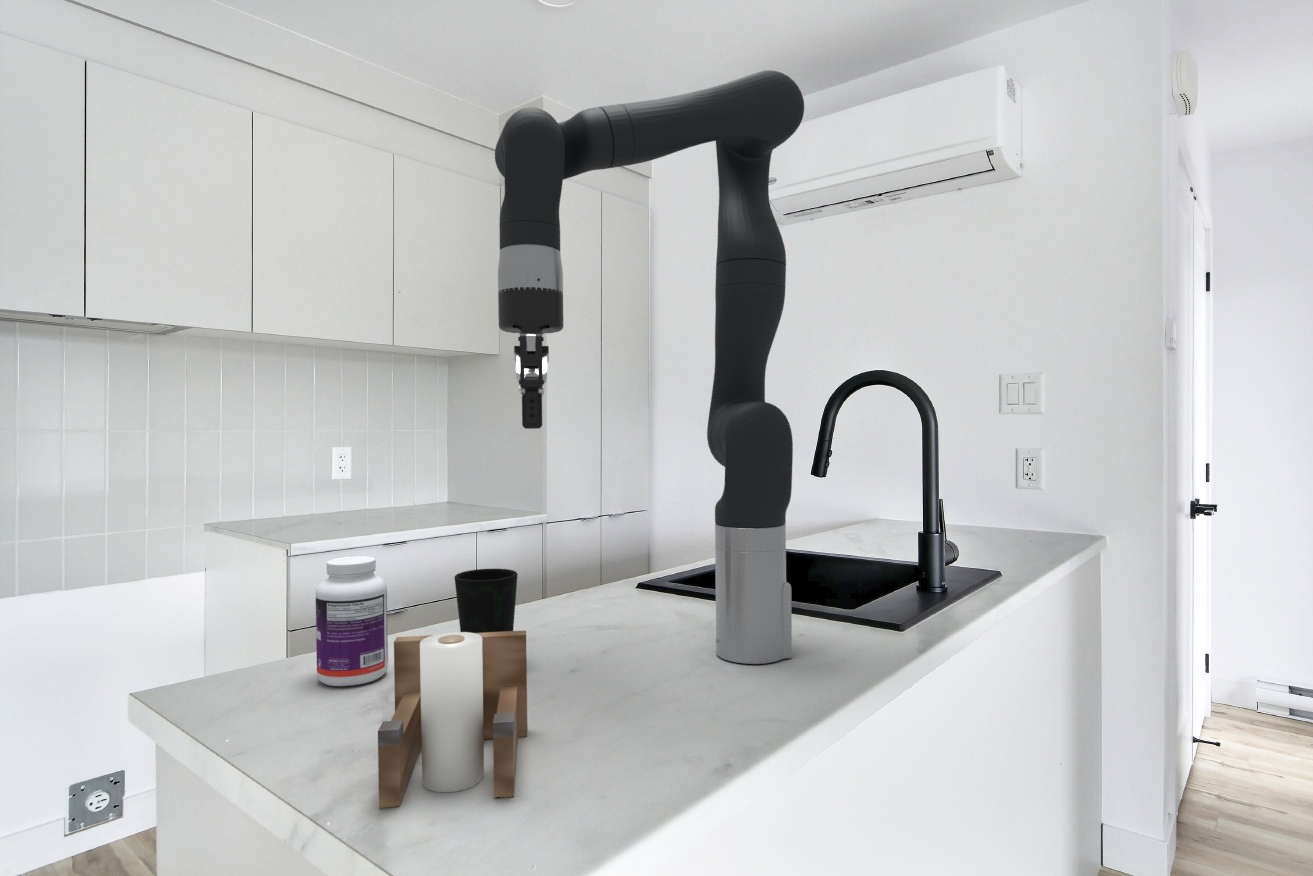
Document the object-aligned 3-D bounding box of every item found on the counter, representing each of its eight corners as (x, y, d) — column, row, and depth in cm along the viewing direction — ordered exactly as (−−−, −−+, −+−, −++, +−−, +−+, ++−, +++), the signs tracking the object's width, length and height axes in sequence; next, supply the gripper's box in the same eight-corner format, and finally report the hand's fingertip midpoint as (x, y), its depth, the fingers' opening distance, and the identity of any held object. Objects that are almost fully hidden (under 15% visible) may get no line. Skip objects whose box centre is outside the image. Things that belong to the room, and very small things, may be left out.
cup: (504, 682, 90) (502, 581, 89) (444, 678, 91) (443, 579, 91) (527, 662, 97) (526, 569, 97) (472, 659, 99) (471, 567, 98)
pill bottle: (330, 668, 95) (328, 555, 95) (395, 666, 96) (393, 553, 96) (306, 691, 87) (304, 567, 87) (377, 688, 88) (375, 565, 88)
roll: (486, 762, 68) (484, 629, 68) (481, 789, 63) (479, 645, 63) (426, 767, 67) (424, 632, 67) (417, 795, 62) (415, 649, 62)
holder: (527, 729, 75) (526, 630, 75) (525, 795, 62) (523, 675, 62) (398, 739, 73) (396, 637, 73) (367, 809, 60) (365, 684, 60)
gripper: (565, 279, 82) (567, 428, 82) (561, 300, 96) (562, 428, 96) (494, 277, 81) (496, 429, 81) (501, 299, 95) (502, 428, 95)
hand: (532, 428), depth 89 cm, fingers open, 8 cm apart
